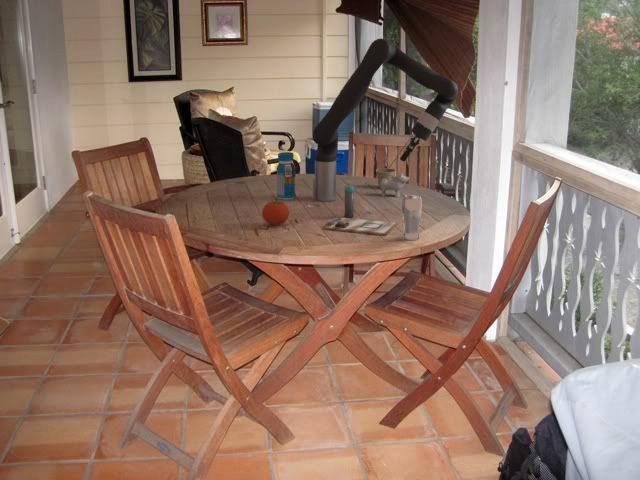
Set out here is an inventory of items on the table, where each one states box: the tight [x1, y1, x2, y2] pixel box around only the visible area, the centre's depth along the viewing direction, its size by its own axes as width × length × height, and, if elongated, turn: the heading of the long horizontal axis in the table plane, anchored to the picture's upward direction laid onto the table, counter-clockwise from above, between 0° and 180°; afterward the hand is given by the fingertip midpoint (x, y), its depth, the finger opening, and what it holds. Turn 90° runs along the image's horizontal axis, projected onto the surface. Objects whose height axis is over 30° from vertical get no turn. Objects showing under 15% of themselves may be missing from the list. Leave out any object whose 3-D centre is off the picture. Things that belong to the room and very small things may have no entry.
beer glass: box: [401, 194, 423, 241], centre depth 236 cm, size 7×7×15 cm
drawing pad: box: [322, 216, 399, 237], centre depth 253 cm, size 24×17×3 cm
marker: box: [343, 185, 355, 219], centre depth 265 cm, size 4×4×12 cm
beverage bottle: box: [275, 151, 297, 201], centre depth 297 cm, size 8×8×20 cm
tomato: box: [261, 199, 290, 226], centre depth 255 cm, size 10×10×10 cm
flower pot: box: [375, 168, 397, 190], centre depth 318 cm, size 9×9×9 cm
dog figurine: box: [380, 172, 410, 198], centre depth 302 cm, size 5×13×11 cm, turn 74°
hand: (401, 160), depth 270 cm, fingers open, 8 cm apart
